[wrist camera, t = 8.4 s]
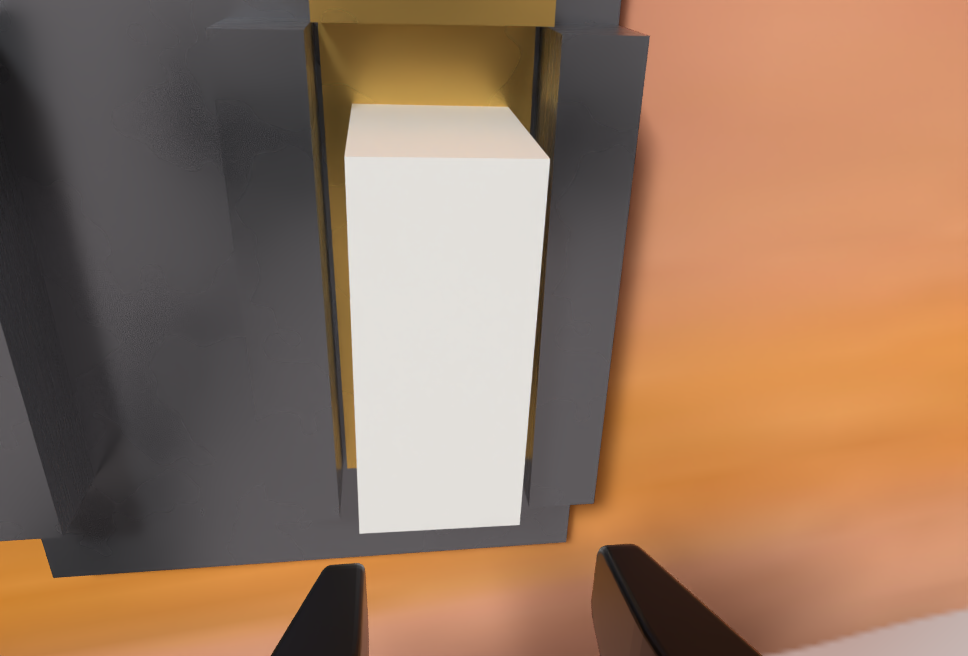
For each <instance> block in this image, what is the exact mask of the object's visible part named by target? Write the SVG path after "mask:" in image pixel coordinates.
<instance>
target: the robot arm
mask: <svg viewBox="0 0 968 656" xmlns="http://www.w3.org/2000/svg"><path fill="white" fill-rule="evenodd" d="M591 609H592V618H593V624H594V629H595V633H596V638H597V643H598V648H599V652H600V656H762V655H761V654H760V653H759V652H758V651H756V650H755V649H754V648H753V647H752V646H751V645H750V644H748V643H747V642H746V641H745V640H744V639H743V638H742V637H741V636H739V635H738V634H737V633H736V632H735V631H734V630H733V629H732V628H730V627H729V626H728V625H727V624H726V623H725V622H724V621H723V620H721V619H720V618H719V617H718V616H717V615H716V614H715V613H714V612H712V611H711V610H710V609H709V608H708V607H707V606H706V605H704V604H703V603H702V602H701V601H700V600H699V599H698V598H697V597H695V596H694V595H693V594H692V593H691V592H690V591H689V590H688V589H686V588H685V587H684V586H683V585H682V584H681V583H680V582H679V581H677V580H676V579H675V578H674V577H673V576H672V575H671V574H670V573H668V572H667V571H666V570H665V569H664V568H663V567H662V566H660V565H659V564H658V563H657V562H656V561H655V560H654V559H653V558H651V557H650V556H649V555H648V554H647V553H646V552H645V551H644V550H642V549H641V548H640V547H638V546H637V545H635V544H620V545H606V546H603V547H601V548H600V549H599V552H598V554H597V559H596V567H595V574H594V582H593V590H592V599H591ZM271 656H369V632H368V609H367V592H366V575H365V568H364V566H363V565H362V564H360V563H353V564H339V565H329V566H327V567H326V568H325V569H324V570H323V571H322V572H321V574H320V576H319V577H318V579H317V581H316V582H315V584H314V585H313V587H312V589H311V590H310V592H309V594H308V595H307V597H306V599H305V600H304V602H303V604H302V605H301V607H300V608H299V610H298V612H297V613H296V615H295V617H294V618H293V620H292V622H291V623H290V625H289V627H288V628H287V630H286V631H285V633H284V635H283V636H282V638H281V640H280V641H279V643H278V645H277V646H276V648H275V650H274V651H273V653H272V655H271Z"/></svg>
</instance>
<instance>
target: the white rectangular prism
mask: <svg viewBox="0 0 968 656" xmlns="http://www.w3.org/2000/svg"><path fill="white" fill-rule="evenodd" d="M344 160H345V185H346V210H347V235H348V260H349V285H350V309H351V334H352V359H353V384H354V409H355V434H356V459H357V484H358V508H359V533H360V534H363V533H382V532H400V531H418V530H437V529H455V528H473V527H492V526H510V525H520V514H521V502H522V490H523V478H524V466H525V454H526V442H527V430H528V418H529V406H530V394H531V382H532V370H533V358H534V346H535V334H536V322H537V310H538V298H539V286H540V274H541V262H542V250H543V238H544V226H545V214H546V202H547V190H548V178H549V166H550V158H549V157H548V156H547V154H546V153H545V152H544V151H543V150H542V148H541V147H540V146H539V145H538V143H537V142H536V141H535V140H534V138H533V137H532V136H531V135H530V133H529V132H528V131H527V130H526V128H525V127H524V126H523V125H522V123H521V122H520V121H519V120H518V118H517V117H516V116H515V115H514V114H513V112H512V111H511V110H510V109H509V107H491V106H442V105H392V104H352V107H351V114H350V121H349V128H348V135H347V142H346V149H345V156H344Z"/></svg>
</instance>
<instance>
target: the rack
mask: <svg viewBox="0 0 968 656" xmlns="http://www.w3.org/2000/svg"><path fill="white" fill-rule="evenodd" d="M620 7H621V0H0V541H10V540H25V539H41V540H42V543H43V546H44V549H45V552H46V556H47V559H48V562H49V565H50V569H51V572H52V575H53V578H58V577H72V576H86V575H101V574H115V573H129V572H144V571H158V570H172V569H187V568H201V567H215V566H230V565H244V564H258V563H273V562H287V561H301V560H316V559H330V558H344V557H359V556H373V555H387V554H402V553H416V552H430V551H445V550H459V549H473V548H488V547H502V546H516V545H531V544H545V543H559V542H566V538H567V528H568V518H569V508H570V505H577V504H592V503H594V497H595V488H596V480H597V472H598V463H599V455H600V447H601V438H602V430H603V421H604V413H605V405H606V396H607V388H608V380H609V371H610V363H611V355H612V346H613V338H614V330H615V321H616V313H617V305H618V296H619V288H620V280H621V271H622V263H623V254H624V246H625V238H626V229H627V221H628V213H629V204H630V196H631V188H632V179H633V171H634V163H635V154H636V146H637V138H638V129H639V121H640V113H641V104H642V96H643V87H644V79H645V71H646V62H647V54H648V46H649V37H650V36H648V35H645V34H642V33H639V32H637V31H634V30H631V29H628V28H625V27H622V26H619V16H620ZM352 104H392V105H442V106H491V107H509V109H510V110H511V111H512V112H513V114H514V115H515V116H516V117H517V118H518V120H519V121H520V122H521V123H522V125H523V126H524V127H525V128H526V130H527V131H528V132H529V133H530V135H531V136H532V137H533V138H534V140H535V141H536V142H537V143H538V145H539V146H540V147H541V148H542V150H543V151H544V152H545V153H546V154H547V156H548V157H549V158H550V166H549V178H548V190H547V202H546V214H545V226H544V238H543V250H542V262H541V274H540V286H539V298H538V310H537V322H536V334H535V346H534V358H533V370H532V382H531V394H530V406H529V418H528V430H527V442H526V454H525V466H524V478H523V490H522V502H521V514H520V525H510V526H492V527H473V528H455V529H437V530H418V531H400V532H382V533H363V534H360V533H359V508H358V484H357V459H356V434H355V409H354V384H353V359H352V334H351V309H350V285H349V260H348V235H347V210H346V185H345V160H344V156H345V149H346V142H347V135H348V128H349V121H350V114H351V107H352Z"/></svg>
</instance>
